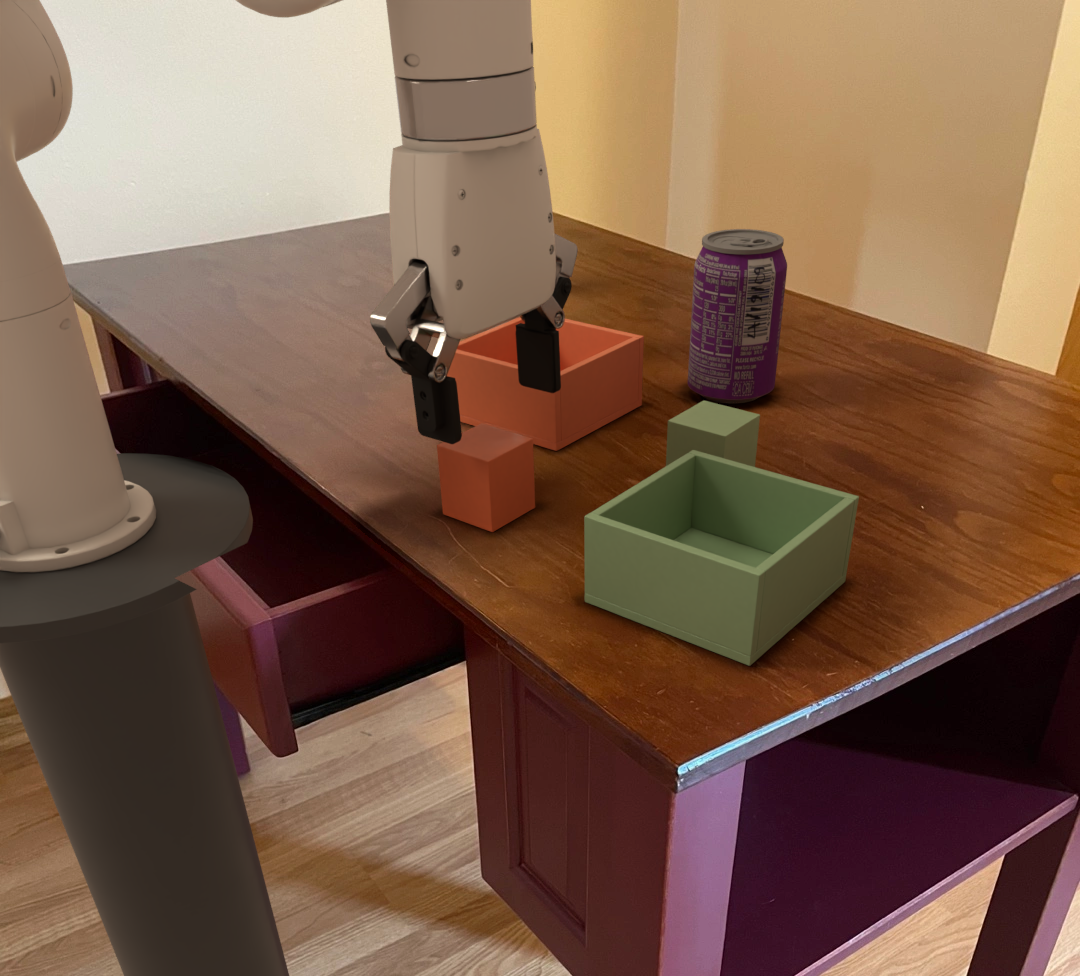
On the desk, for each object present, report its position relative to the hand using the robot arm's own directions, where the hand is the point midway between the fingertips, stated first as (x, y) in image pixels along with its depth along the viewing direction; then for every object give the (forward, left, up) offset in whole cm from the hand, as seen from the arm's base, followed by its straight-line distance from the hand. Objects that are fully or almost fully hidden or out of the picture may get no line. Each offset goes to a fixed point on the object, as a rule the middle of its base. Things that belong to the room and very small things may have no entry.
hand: (492, 412), depth 70 cm
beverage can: (+28, -2, -7) cm, 29 cm away
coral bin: (+16, +8, -7) cm, 19 cm away
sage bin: (0, -18, -7) cm, 19 cm away
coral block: (0, 0, -7) cm, 7 cm away
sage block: (+12, -10, -7) cm, 17 cm away
